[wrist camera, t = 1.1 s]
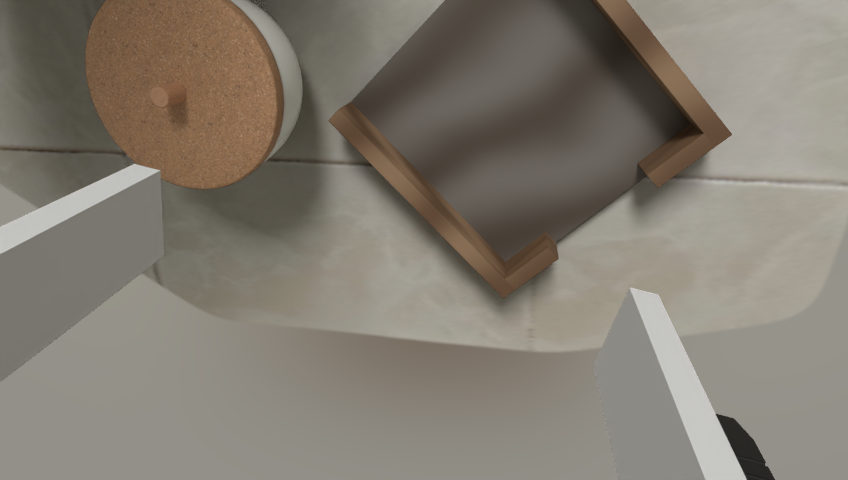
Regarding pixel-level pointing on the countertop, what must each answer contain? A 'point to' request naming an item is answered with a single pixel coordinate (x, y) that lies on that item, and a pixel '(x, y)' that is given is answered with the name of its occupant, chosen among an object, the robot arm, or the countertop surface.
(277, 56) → the lidded jar
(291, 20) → the countertop surface
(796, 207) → the countertop surface
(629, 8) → the holder
